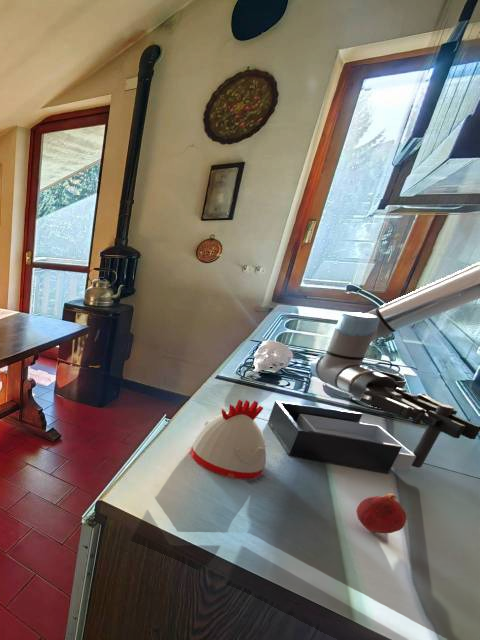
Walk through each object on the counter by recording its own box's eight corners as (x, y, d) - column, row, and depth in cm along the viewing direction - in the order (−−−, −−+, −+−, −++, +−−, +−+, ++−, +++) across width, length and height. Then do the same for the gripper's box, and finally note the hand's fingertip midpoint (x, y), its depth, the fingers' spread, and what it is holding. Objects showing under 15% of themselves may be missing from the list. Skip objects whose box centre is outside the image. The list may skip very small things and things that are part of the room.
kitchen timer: (278, 479, 82) (302, 416, 76) (213, 479, 81) (233, 415, 76) (235, 444, 94) (254, 387, 89) (179, 443, 94) (194, 387, 88)
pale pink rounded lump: (240, 366, 143) (257, 336, 142) (250, 378, 151) (265, 351, 151) (273, 374, 134) (291, 343, 134) (281, 387, 143) (298, 358, 143)
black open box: (350, 436, 99) (361, 412, 96) (387, 474, 84) (402, 447, 81) (267, 423, 105) (275, 400, 102) (288, 456, 90) (298, 430, 87)
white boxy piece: (386, 440, 95) (414, 384, 89) (424, 473, 83) (459, 410, 77) (294, 425, 101) (315, 372, 96) (317, 454, 89) (342, 395, 83)
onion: (391, 549, 64) (413, 511, 61) (345, 528, 68) (364, 492, 65) (398, 534, 67) (419, 497, 64) (354, 515, 72) (372, 479, 69)
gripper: (394, 401, 97) (502, 452, 75) (328, 397, 99) (415, 446, 77) (407, 373, 94) (523, 417, 72) (339, 369, 96) (433, 412, 74)
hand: (467, 432), depth 75 cm, fingers closed on white boxy piece, 2 cm apart
